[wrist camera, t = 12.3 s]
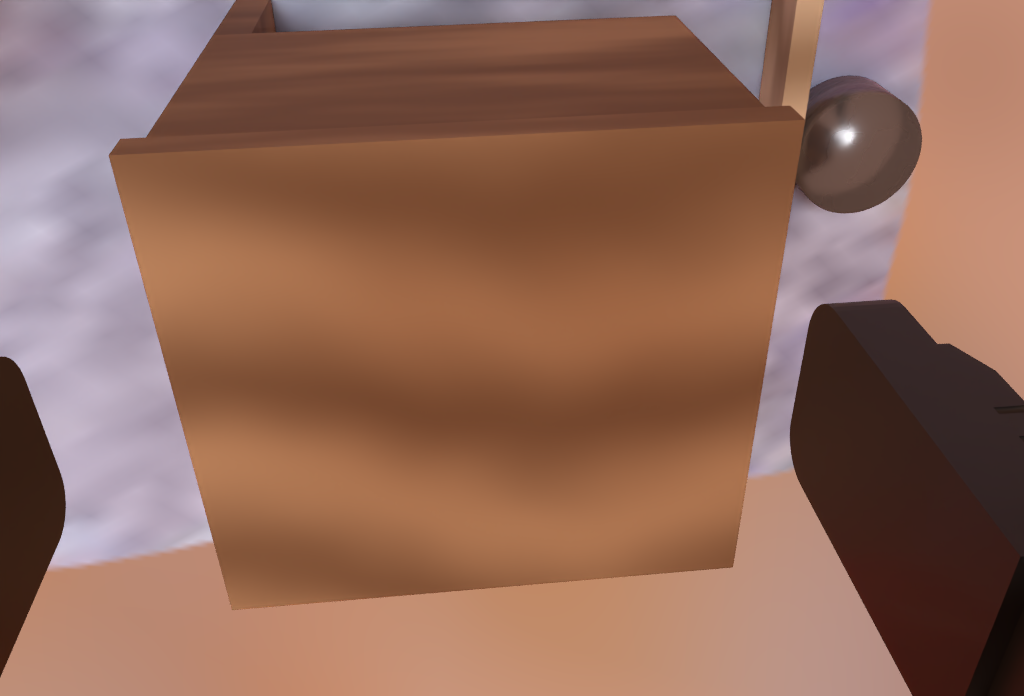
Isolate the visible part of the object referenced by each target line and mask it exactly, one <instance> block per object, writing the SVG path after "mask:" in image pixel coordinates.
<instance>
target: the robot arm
mask: <svg viewBox="0 0 1024 696" xmlns="http://www.w3.org/2000/svg"><path fill="white" fill-rule="evenodd" d="M790 446H791V455H792V460H793V465H794V469H795V472H796V475H797V478H798V480H799V482H800V484H801V486H802V488H803V490H804V492H805V494H806V496H807V497H808V500H809V501H810V503H811V505H812V507H813V509H814V511H815V513H816V515H817V516H818V518H819V520H820V522H821V524H822V526H823V528H824V530H825V531H826V533H827V535H828V537H829V539H830V541H831V543H832V544H833V546H834V548H835V550H836V552H837V554H838V556H839V558H840V560H841V562H842V564H843V566H844V567H845V569H846V571H847V573H848V575H849V577H850V578H851V581H852V582H853V584H854V586H855V588H856V590H857V592H858V594H859V596H860V598H861V599H862V601H863V603H864V605H865V607H866V609H867V611H868V613H869V614H870V616H871V618H872V620H873V622H874V624H875V626H876V627H877V630H878V631H879V633H880V635H881V637H882V639H883V641H884V643H885V644H886V647H887V648H888V650H889V652H890V654H891V656H892V658H893V660H894V662H895V664H896V665H897V667H898V669H899V671H900V673H901V675H902V677H903V678H904V681H905V682H906V684H907V686H908V688H909V690H910V692H911V694H912V696H1024V400H1023V399H1022V398H1021V397H1020V396H1019V395H1018V394H1017V393H1016V392H1015V391H1014V390H1013V389H1012V388H1011V387H1010V385H1009V384H1008V383H1007V382H1006V381H1005V380H1004V379H1003V378H1002V377H1001V376H1000V375H999V374H998V373H997V372H996V371H995V370H993V369H992V368H990V367H988V366H987V365H985V364H983V363H982V362H980V361H978V360H976V359H975V358H973V357H971V356H970V355H968V354H966V353H965V352H963V351H961V350H959V349H958V348H956V347H954V346H952V345H951V344H937V343H936V342H935V341H934V340H933V339H932V338H931V336H930V335H929V334H928V333H927V332H926V331H925V330H924V329H923V327H922V326H921V325H920V324H919V323H918V322H917V321H916V319H915V318H914V317H913V316H912V315H911V314H910V313H909V312H908V310H907V309H906V308H905V307H904V306H903V305H902V304H901V303H900V302H898V301H896V300H877V301H862V302H847V303H832V304H822V305H820V306H818V307H817V308H816V310H815V311H814V313H813V315H812V317H811V320H810V324H809V328H808V333H807V338H806V344H805V349H804V355H803V360H802V365H801V371H800V376H799V381H798V387H797V392H796V398H795V403H794V408H793V414H792V419H791V426H790ZM65 510H66V501H65V490H64V484H63V480H62V477H61V473H60V471H59V468H58V465H57V463H56V460H55V457H54V455H53V452H52V449H51V447H50V444H49V442H48V439H47V436H46V434H45V431H44V428H43V426H42V423H41V420H40V418H39V415H38V412H37V410H36V407H35V405H34V402H33V399H32V397H31V394H30V391H29V389H28V386H27V383H26V381H25V378H24V376H23V374H22V372H21V370H20V368H19V367H18V366H17V364H16V363H15V362H14V361H13V360H11V359H10V358H7V357H0V677H1V674H2V672H3V669H4V667H5V665H6V663H7V660H8V658H9V656H10V653H11V651H12V649H13V646H14V644H15V642H16V640H17V637H18V635H19V633H20V630H21V628H22V626H23V624H24V621H25V619H26V617H27V614H28V612H29V610H30V607H31V605H32V603H33V601H34V598H35V596H36V594H37V591H38V589H39V587H40V584H41V582H42V580H43V578H44V575H45V573H46V571H47V568H48V566H49V564H50V561H51V559H52V557H53V554H54V552H55V550H56V548H57V545H58V543H59V541H60V538H61V535H62V531H63V527H64V521H65Z"/></svg>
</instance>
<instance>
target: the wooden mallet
mask: <svg viewBox="0 0 1024 696" xmlns="http://www.w3.org/2000/svg"><path fill="white" fill-rule="evenodd" d="M823 4H824V0H772V4H771V12H770V19H769V27H768V35H767V42H766V50H765V58H764V66H763V73H762V81H761V89H760V96H759V101H760V102H761V103H762V104H763V105H764V106H765V107H771V106H791V107H792V108H793V109H794V110H795V111H797V112H798V113H799V114H800V115H801V116H802V117H803V118H804V119H805V117H806V111H807V104H808V98H809V92H810V86H811V79H812V73H813V67H814V61H815V54H816V48H817V42H818V36H819V29H820V23H821V17H822V11H823Z"/></svg>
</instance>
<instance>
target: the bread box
mask: <svg viewBox="0 0 1024 696" xmlns="http://www.w3.org/2000/svg"><path fill="white" fill-rule="evenodd" d="M804 125H805V119H804V118H803V117H802V116H801V115H800V114H799V113H798V112H797V111H795V110H794V109H793V108H792V107H791V106H771V107H765V106H764V105H763V104H762V103H761V102H760V101H759V100H758V99H757V98H756V97H755V96H754V95H753V94H752V93H751V92H750V91H749V90H748V89H747V88H746V87H745V86H744V85H743V84H742V83H741V82H740V81H739V80H738V79H737V78H736V77H735V76H734V75H733V74H732V73H731V72H730V71H729V70H728V69H727V68H726V67H725V66H724V65H723V64H722V63H721V62H720V60H719V59H718V58H717V57H716V56H715V55H714V54H713V53H712V52H711V51H710V50H709V49H708V48H707V47H706V46H705V45H704V44H703V43H702V42H701V41H700V40H699V39H698V38H697V37H696V36H695V35H694V34H693V33H692V32H691V31H690V30H689V29H688V28H687V27H686V26H685V25H684V24H683V23H682V22H681V21H680V20H679V19H678V18H677V17H676V16H652V17H628V18H605V19H581V20H558V21H534V22H511V23H487V24H464V25H440V26H417V27H393V28H370V29H346V30H323V31H299V32H276V30H275V23H274V17H273V11H272V4H271V0H236V1H235V3H234V4H233V6H232V7H231V9H230V10H229V12H228V13H227V15H226V16H225V18H224V19H223V21H222V22H221V24H220V26H219V27H218V29H217V30H216V32H215V33H214V35H213V36H212V38H211V39H210V41H209V42H208V44H207V45H206V47H205V48H204V50H203V51H202V53H201V54H200V56H199V58H198V59H197V61H196V62H195V64H194V65H193V67H192V68H191V70H190V71H189V73H188V74H187V76H186V77H185V79H184V80H183V82H182V83H181V85H180V87H179V88H178V90H177V91H176V93H175V94H174V96H173V97H172V99H171V100H170V102H169V103H168V105H167V106H166V108H165V109H164V111H163V112H162V114H161V115H160V117H159V119H158V120H157V122H156V123H155V125H154V126H153V128H152V129H151V131H150V132H149V134H148V135H147V137H146V138H130V139H120V140H119V142H118V143H117V145H116V146H115V147H114V149H113V150H112V152H111V153H110V154H109V158H110V162H111V166H112V169H113V173H114V177H115V180H116V184H117V188H118V191H119V195H120V199H121V202H122V206H123V210H124V213H125V217H126V221H127V224H128V228H129V232H130V236H131V239H132V243H133V247H134V250H135V254H136V258H137V261H138V265H139V269H140V272H141V276H142V280H143V283H144V287H145V291H146V294H147V298H148V302H149V306H150V309H151V313H152V317H153V320H154V324H155V328H156V331H157V335H158V339H159V342H160V346H161V350H162V353H163V357H164V361H165V364H166V368H167V372H168V376H169V379H170V383H171V387H172V390H173V394H174V398H175V401H176V405H177V409H178V412H179V416H180V420H181V423H182V427H183V431H184V435H185V438H186V442H187V446H188V449H189V453H190V457H191V460H192V464H193V468H194V471H195V475H196V479H197V482H198V486H199V490H200V493H201V497H202V501H203V505H204V508H205V512H206V516H207V519H208V523H209V527H210V530H211V534H212V538H213V541H214V545H215V549H216V552H217V556H218V560H219V563H220V567H221V571H222V575H223V578H224V582H225V585H226V589H227V593H228V597H229V600H230V604H231V608H232V610H238V609H250V608H262V607H273V606H285V605H297V604H309V603H320V602H331V601H344V600H355V599H367V598H379V597H390V596H402V595H414V594H425V593H438V592H449V591H461V590H473V589H485V588H496V587H508V586H520V585H531V584H543V583H555V582H567V581H578V580H590V579H601V578H612V577H625V576H636V575H648V574H659V573H672V572H683V571H694V570H707V569H719V568H730V567H733V563H734V557H735V551H736V545H737V539H738V532H739V526H740V520H741V514H742V507H743V501H744V495H745V489H746V483H747V477H748V471H749V464H750V458H751V452H752V446H753V440H754V434H755V427H756V421H757V415H758V409H759V403H760V396H761V390H762V384H763V378H764V372H765V366H766V359H767V353H768V347H769V341H770V335H771V328H772V322H773V316H774V310H775V304H776V298H777V291H778V285H779V279H780V273H781V267H782V261H783V254H784V248H785V242H786V236H787V230H788V223H789V217H790V211H791V205H792V199H793V193H794V186H795V180H796V174H797V168H798V162H799V156H800V149H801V143H802V137H803V131H804Z"/></svg>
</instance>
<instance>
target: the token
mask: <svg viewBox="0 0 1024 696" xmlns="http://www.w3.org/2000/svg"><path fill="white" fill-rule="evenodd" d="M921 142H922V135H921V128H920V124H919V122H918V119H917V117H916V115H915V114H914V112H913V111H912V110H911V109H910V108H909V107H908V106H907V105H906V104H905V103H903V102H902V101H901V100H899V99H898V98H897V97H895V96H894V95H893V94H891V93H890V92H888V91H887V90H886V89H884V88H883V87H882V86H880V85H879V84H878V83H876V82H874V81H872V80H870V79H867V78H865V77H860V76H840V77H836V78H832V79H829V80H826V81H824V82H822V83H820V84H818V85H816V86H815V87H813V88H811V89H810V92H809V98H808V104H807V111H806V117H805V125H804V131H803V137H802V143H801V149H800V156H799V162H798V168H797V174H796V180H795V183H796V184H797V185H798V187H799V188H800V189H801V190H802V191H803V192H804V194H805V195H806V196H807V197H808V198H809V199H810V200H811V201H812V202H813V203H814V204H816V205H817V206H819V207H820V208H823V209H825V210H827V211H831V212H836V213H855V212H860V211H864V210H867V209H870V208H872V207H874V206H876V205H878V204H880V203H882V202H883V201H885V200H887V199H888V198H889V197H891V196H892V195H893V194H894V193H895V192H897V191H898V190H899V189H900V188H901V187H902V185H903V184H904V183H905V182H906V181H907V179H908V178H909V177H910V175H911V173H912V172H913V170H914V168H915V166H916V164H917V161H918V158H919V155H920V151H921Z"/></svg>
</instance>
